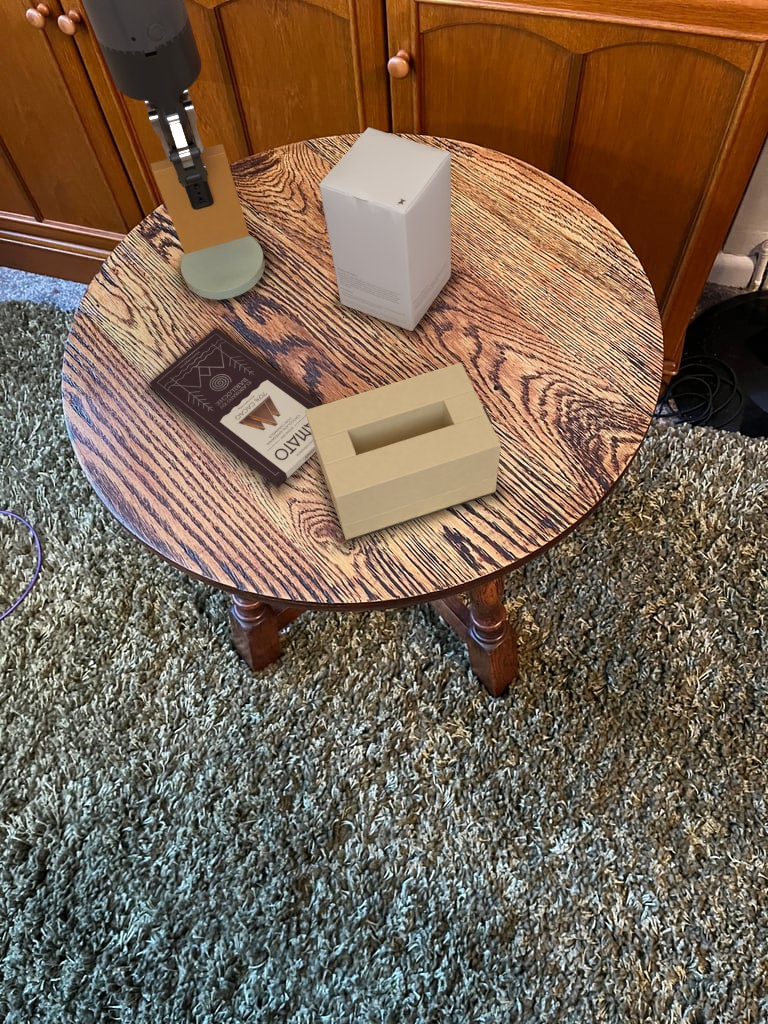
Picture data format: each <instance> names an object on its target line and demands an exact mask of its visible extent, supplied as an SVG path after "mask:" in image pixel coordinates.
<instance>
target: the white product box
mask: <svg viewBox="0 0 768 1024" xmlns="http://www.w3.org/2000/svg"><path fill="white" fill-rule="evenodd" d="M318 188H319V192H320V197H321V203H322V208H323V214H324V219H325V225H326V231H327V236H328V241H329V247H330V252H331V257H332V258H331V259H332V263H333V269H334V274H335V279H336V280H335V281H336V285H337V291H338V294H339V295H338V297H339V303H340V304H341V305H343V306H345V307H348V308H351V309H353V310H355V311H358V312H361V313H364V314H366V315H368V316H371V317H374V318H375V319H379V320H381V321H384V322H386V323H389V324H391V325H394V326H397V327H399V328H401V329H405V330H407V331H410V332H413V331H414V330H415V328H416V327H417V325H418V324H419V323H420V321H421V320H422V318H423V317H424V316H425V314H426V313H427V311H428V310H429V308H430V307H431V305H432V304H433V303H434V301H435V300H436V299H437V297H438V295H440V293H441V291H442V290H443V288H444V287H445V285H446V284H447V283H448V281H449V280H450V278H451V277H452V153H451V151H447V150H444V149H441V148H437V147H433V146H430V145H427V144H423V143H420V142H416V141H414V140H410V139H407V138H404V137H400V136H399V135H395V134H392V133H387V132H386V131H385V132H384V131H382V130H379V129H375V128H373V127H367V128H366V129H365V130H364V131H363V133H361V135H360V136H359V137H358V138H357V139H356V141H354V143H353V144H352V146H351V147H350V148H349V149H348V150H347V151H346V153H345V154H344V155H343V156H342V157H341V158H340V159H339V160H338V162H337V163H336V164H335V165H334V166H333V167H332V168H331V169H330V171H329V172H328V173H327V174H326V175H325V176H324V177H323V178H322V180H321V182H319V184H318Z"/></svg>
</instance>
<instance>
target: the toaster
mask: <svg viewBox="0 0 768 1024" xmlns="http://www.w3.org/2000/svg"><path fill="white" fill-rule="evenodd" d="M305 413H306V416H307V420H308V424H309V427H310V431H311V435H312V438H313V442H314V445H315V449H316V452H315V453H316V457H317V460H318V463H319V466H320V468H321V472H322V474H323V478H324V481H325V484H326V487H327V490H328V492H329V495H330V498H331V501H332V505H333V507H334V509H335V513H336V516H337V519H338V522H339V525H340V528H341V530H342V533H343V536H344V540H345V542H346V543H347V542H350V541H353V540H356V539H360V538H363V537H366V536H369V535H372V534H375V533H378V532H381V531H384V530H387V529H390V528H394V527H397V526H400V525H403V524H406V523H410V522H412V521H415V520H418V519H421V518H424V517H427V516H430V515H434V514H436V513H440V512H442V511H446V510H449V509H452V508H455V507H458V506H461V505H465V504H467V503H471V502H474V501H476V500H479V499H483V498H486V497H489V496H492V495H496V493H497V490H496V489H497V482H498V475H499V466H500V465H499V464H500V457H501V456H500V455H501V448H502V443H501V442H500V439H499V437H498V435H497V434H496V432H495V429H494V427H493V420H492V418H491V416H490V414H489V412H488V409H487V408H486V406H485V405H482V402H481V400H480V399H479V396H478V393H477V392H476V391H475V388H474V386H473V384H472V382H471V380H470V378H469V376H468V373H467V372H466V369H465V367H464V365H463V363H462V362H457V363H454V364H450V365H447V366H445V367H441V368H438V369H435V370H431V371H428V372H425V373H421V374H419V375H415V376H412V377H409V378H406V379H405V378H404V379H402V380H400V381H396V382H392V383H389V384H386V385H383V386H379V387H376V388H373V389H370V390H367V391H363V392H359V393H356V394H354V395H350V396H347V397H343V398H340V399H337V400H334V401H331V402H327V403H325V404H323V405H321V406H317V407H314V408H311V409H308V410H305Z"/></svg>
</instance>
